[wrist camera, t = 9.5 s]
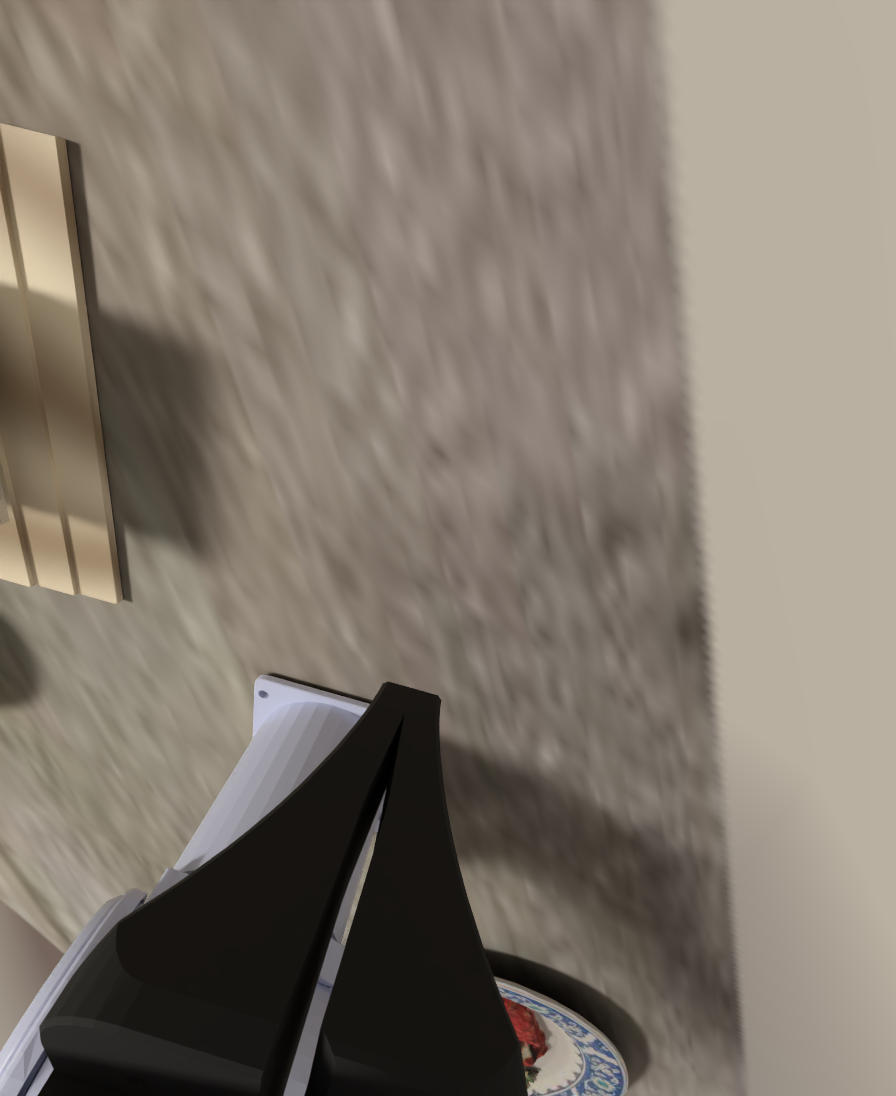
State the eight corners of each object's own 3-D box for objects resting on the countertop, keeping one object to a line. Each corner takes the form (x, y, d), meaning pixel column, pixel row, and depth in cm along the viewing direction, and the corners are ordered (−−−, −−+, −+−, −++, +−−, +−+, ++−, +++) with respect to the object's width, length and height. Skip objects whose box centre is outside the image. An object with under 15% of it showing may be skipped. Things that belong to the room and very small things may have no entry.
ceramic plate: (238, 935, 41) (217, 981, 38) (562, 917, 32) (563, 974, 30) (384, 1084, 50) (376, 1128, 48) (661, 1099, 42) (669, 1153, 40)
